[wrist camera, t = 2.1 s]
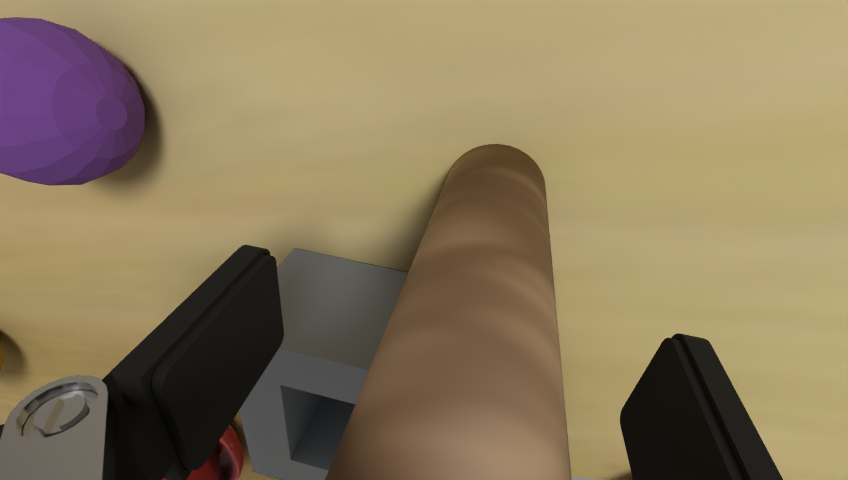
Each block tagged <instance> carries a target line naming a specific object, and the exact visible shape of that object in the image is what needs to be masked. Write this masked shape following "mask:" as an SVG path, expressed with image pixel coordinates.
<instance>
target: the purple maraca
mask: <svg viewBox="0 0 848 480" xmlns="http://www.w3.org/2000/svg"><path fill="white" fill-rule="evenodd" d="M144 132H145V106H144V103H143V100H142V97H141V94H140V92H139V89H138V86H137V83H136V81H135V80H134V79H133V77H132V76H131V75H130V73H129V72H128V71H127V69H126V68H125V67H124V65H123V64H122V63H121V61H120V60H119V59H117V58H116V57H115V56H113V55H112V54H110V53H109V52H108V51H106V50H105V49H103V48H102V47H101V46H99V45H98V44H96V43H95V42H93V41H92V40H90V39H89V38H87V37H86V36H84V35H83V34H81V33H80V32H78V31H77V30H75V29H72V28H68V27H65V26H62V25H59V24H55V23H52V22H49V21H46V20H42V19H35V18H17V17H15V18H1V19H0V173H2V174H6V175H9V176H12V177H15V178H18V179H21V180H24V181H28V182H33V183H39V184H44V185H82V184H84V183H87V182H89V181H92V180H94V179H96V178H99V177H101V176H104V175H106V174H108V173H111V172H113V171H115V170H118V169H120V168H122V167H123V166H124V165H125V164H126V163H127V162H128V161H129V160H130V159H131V157H132V156H133V155H134V154H135V153H136V152H137V151H138V148H139V145H140V142H141V140H142V137H143V134H144Z"/></svg>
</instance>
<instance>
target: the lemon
mask: <svg viewBox="0 0 848 480" xmlns="http://www.w3.org/2000/svg"><path fill="white" fill-rule="evenodd" d="M0 340H1V335H0ZM2 364H3V353H2V350H1V348H0V370H1V367H2Z"/></svg>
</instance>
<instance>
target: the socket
mask: <svg viewBox="0 0 848 480" xmlns="http://www.w3.org/2000/svg"><path fill="white" fill-rule="evenodd" d="M277 274H278V283H279V292H280V301H281V310H282V318H283V327H284V338H283V342H282V344H281V346H280V348H279V349H278V351H277V352H276V354H275V356H274V357H273V359H272V360H271V362H270V363H269V365H268V366H267V368H266V369H265V371H264V372H263V374H262V376H261V377H260V379H259V380H258V382H257V383H256V385H255V386H254V388H253V389H252V391H251V393H250V394H249V396H248V397H247V399H246V400H245V402H244V403H243V405H242V406H241V408H240V409H239V413H240V417H241V421H242V425H243V430H244V434H245V438H246V442H247V447H248V451H249V455H250V459H251V464H252V468H253V472H256V473H259V474H263V475H266V476H270V477H273V478H277V479H280V480H325V478H326V476H327V474H328V471H329V469H330V466H331V464H332V461H333V459H334V456H335V454H336V451H337V449H338V446H339V444H340V441H341V439H342V436H343V434H344V431H345V429H346V426H347V424H348V421H349V419H350V417H351V414H352V412H353V409H354V407H355V404H356V402H357V399H358V397H359V394H360V392H361V389H362V387H363V384H364V382H365V379H366V377H367V374H368V372H369V369H370V367H371V364H372V362H373V360H374V357H375V355H376V352H377V350H378V347H379V345H380V342H381V340H382V337H383V335H384V332H385V330H386V327H387V325H388V322H389V320H390V317H391V315H392V312H393V310H394V307H395V305H396V303H397V300H398V298H399V295H400V293H401V290H402V288H403V285H404V283H405V280H406V278H407V275H408V273H407V272H403V271H398V270H393V269H389V268H384V267H379V266H375V265H370V264H366V263H361V262H356V261H352V260H347V259H342V258H338V257H333V256H328V255H324V254H319V253H315V252H310V251H305V250H301V249H296V248H295V249H294V250H293V251H292V252H291V253H290V255H289V256H288V257H287V258H286V259H285V260H284V261H283V263H282V264H281V265H280V266H279V267H278V268H277Z"/></svg>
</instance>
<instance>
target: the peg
mask: <svg viewBox="0 0 848 480" xmlns="http://www.w3.org/2000/svg"><path fill="white" fill-rule="evenodd" d="M325 480H571V469H570V457H569V446H568V435H567V424H566V413H565V402H564V390H563V379H562V368H561V357H560V346H559V334H558V323H557V312H556V301H555V290H554V279H553V267H552V256H551V245H550V234H549V223H548V211H547V200H546V189H545V181H544V177H543V175H542V172H541V170H540V168H539V167H538V165H537V164H536V163H535V161H534V160H533V159H532V158H531V157H530V156H528V155H527V154H526V153H524V152H522V151H521V150H519V149H516V148H514V147H511V146H507V145H501V144H489V145H483V146H479V147H476V148H474V149H472V150H470V151H468V152H466V153H465V154H463V155H462V156H461V157H460V158H459V159H458V160H457V161H456V162H455V163H454V165H453V166H452V168H451V169H450V171H449V174H448V176H447V179H446V181H445V184H444V186H443V189H442V191H441V193H440V196H439V198H438V201H437V203H436V206H435V208H434V211H433V213H432V216H431V218H430V221H429V223H428V226H427V228H426V231H425V233H424V236H423V238H422V241H421V243H420V246H419V248H418V250H417V253H416V255H415V258H414V260H413V263H412V265H411V268H410V270H409V273H408V275H407V278H406V280H405V283H404V285H403V288H402V290H401V293H400V295H399V298H398V300H397V303H396V305H395V307H394V310H393V312H392V315H391V317H390V320H389V322H388V325H387V327H386V330H385V332H384V335H383V337H382V340H381V342H380V345H379V347H378V350H377V352H376V355H375V357H374V360H373V362H372V364H371V367H370V369H369V372H368V374H367V377H366V379H365V382H364V384H363V387H362V389H361V392H360V394H359V397H358V399H357V402H356V404H355V407H354V409H353V412H352V414H351V417H350V419H349V421H348V424H347V426H346V429H345V431H344V434H343V436H342V439H341V441H340V444H339V446H338V449H337V451H336V454H335V456H334V459H333V461H332V464H331V466H330V469H329V471H328V474H327V476H326V478H325Z"/></svg>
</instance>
